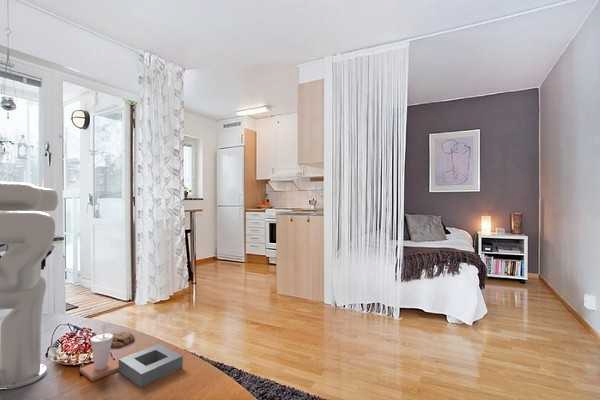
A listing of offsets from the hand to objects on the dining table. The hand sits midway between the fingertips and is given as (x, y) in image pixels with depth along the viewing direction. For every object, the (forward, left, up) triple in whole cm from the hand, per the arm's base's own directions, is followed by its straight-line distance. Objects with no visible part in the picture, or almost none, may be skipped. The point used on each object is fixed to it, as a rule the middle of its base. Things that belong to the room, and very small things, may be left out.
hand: (24, 271), depth 116 cm
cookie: (+24, -20, -29) cm, 43 cm away
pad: (+11, -36, -28) cm, 47 cm away
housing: (+21, -48, -28) cm, 60 cm away
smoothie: (+11, -36, -28) cm, 47 cm away
